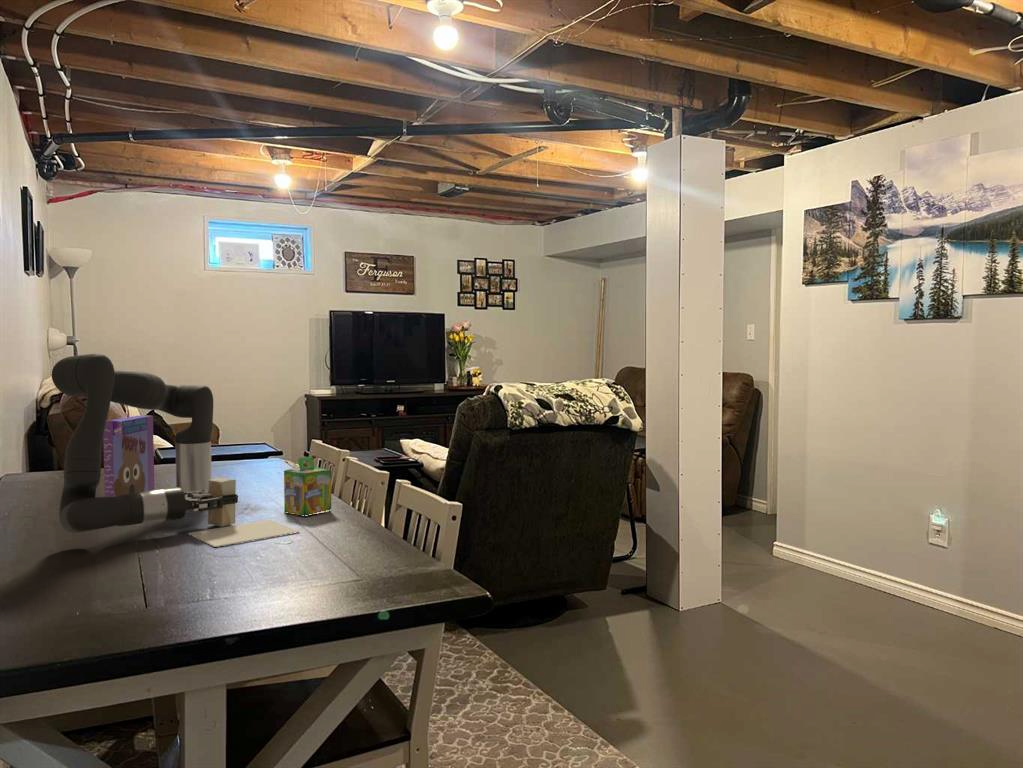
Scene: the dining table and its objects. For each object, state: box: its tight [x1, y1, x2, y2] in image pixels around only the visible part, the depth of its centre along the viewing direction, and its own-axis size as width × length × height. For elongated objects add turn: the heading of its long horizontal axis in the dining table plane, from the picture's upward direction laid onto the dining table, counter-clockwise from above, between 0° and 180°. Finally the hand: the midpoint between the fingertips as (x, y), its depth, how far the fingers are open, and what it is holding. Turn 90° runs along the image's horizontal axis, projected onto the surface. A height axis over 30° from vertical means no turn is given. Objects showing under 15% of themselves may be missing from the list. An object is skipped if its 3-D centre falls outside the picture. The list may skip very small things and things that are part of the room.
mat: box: [188, 519, 300, 548], centre depth 175 cm, size 16×20×1 cm
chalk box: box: [283, 455, 332, 516], centre depth 197 cm, size 9×9×15 cm
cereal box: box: [103, 414, 155, 497], centre depth 210 cm, size 17×5×24 cm, turn 179°
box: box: [207, 477, 237, 528], centre depth 182 cm, size 5×4×11 cm
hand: (231, 496), depth 184 cm, fingers closed on box, 6 cm apart
